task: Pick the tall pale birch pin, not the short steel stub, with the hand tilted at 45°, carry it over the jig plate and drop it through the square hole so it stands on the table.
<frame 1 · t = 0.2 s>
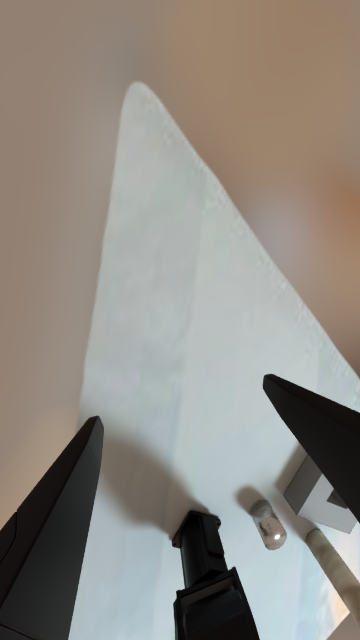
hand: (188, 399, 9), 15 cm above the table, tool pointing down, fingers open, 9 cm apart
birch pin: (314, 537, 34), on the table
steel stub: (260, 509, 31), on the table
jig plate: (327, 474, 33), on the table
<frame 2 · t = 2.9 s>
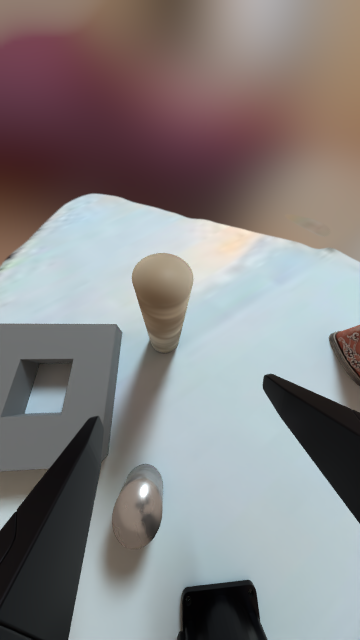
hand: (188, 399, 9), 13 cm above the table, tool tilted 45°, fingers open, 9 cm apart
birch pin: (164, 339, 24), on the table
steel stub: (143, 488, 17), on the table
jig plate: (56, 386, 20), on the table
lighter: (347, 358, 25), on the table
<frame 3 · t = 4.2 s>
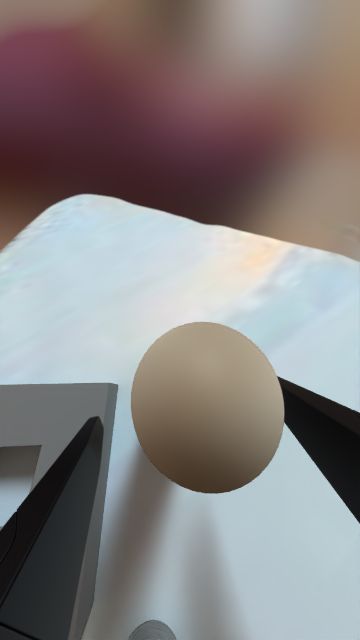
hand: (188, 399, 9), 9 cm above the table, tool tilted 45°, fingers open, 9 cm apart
birch pin: (177, 393, 17), on the table
jig plate: (19, 478, 14), on the table
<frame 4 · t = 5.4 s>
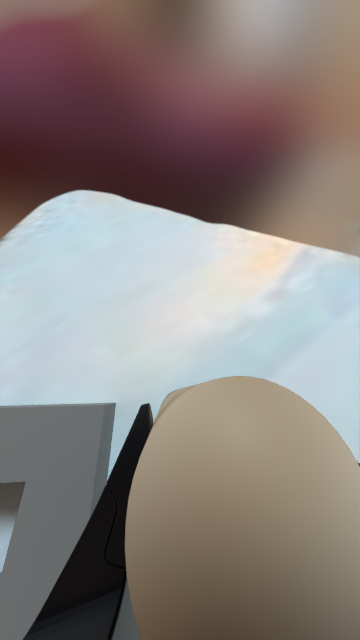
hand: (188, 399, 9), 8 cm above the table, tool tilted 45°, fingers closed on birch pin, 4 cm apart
birch pin: (181, 412, 15), on the table, touching gripper
jig plate: (2, 514, 12), on the table
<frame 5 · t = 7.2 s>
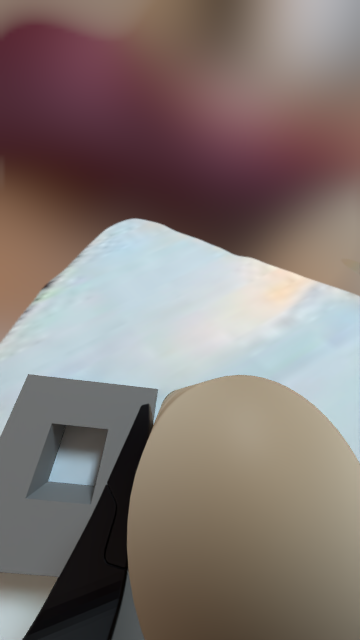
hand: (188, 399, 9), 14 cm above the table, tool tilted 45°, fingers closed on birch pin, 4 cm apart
birch pin: (182, 412, 15), point 6 cm above the table, touching gripper
jig plate: (84, 451, 18), on the table
when the fingers open (10 cm above the table, at t = 9.2 s): birch pin drops 2 cm, resting in jig plate.
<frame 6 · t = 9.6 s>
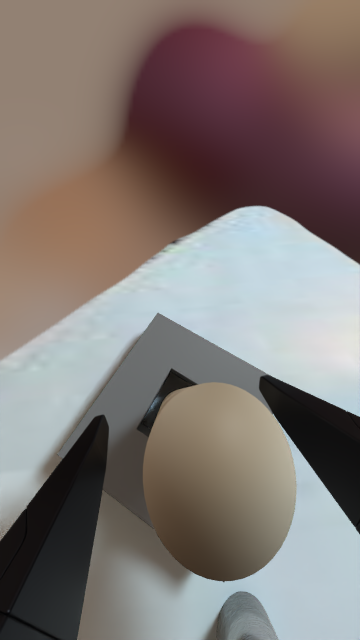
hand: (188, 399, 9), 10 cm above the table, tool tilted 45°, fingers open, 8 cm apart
birch pin: (180, 410, 17), resting in jig plate
steel stub: (244, 634, 12), on the table
jig plate: (180, 410, 17), on the table
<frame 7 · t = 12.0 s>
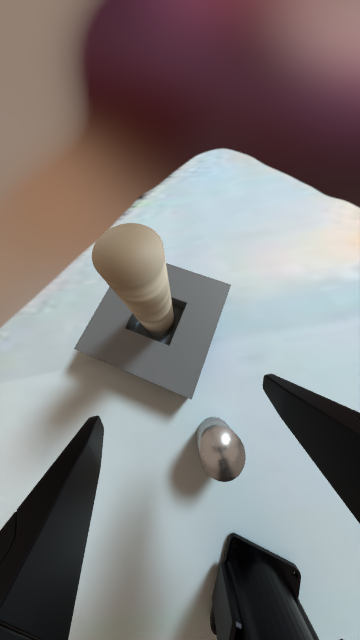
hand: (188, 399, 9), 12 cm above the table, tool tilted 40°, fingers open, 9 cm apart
birch pin: (159, 322, 23), resting in jig plate
steel stub: (214, 437, 19), on the table
jig plate: (159, 322, 23), on the table
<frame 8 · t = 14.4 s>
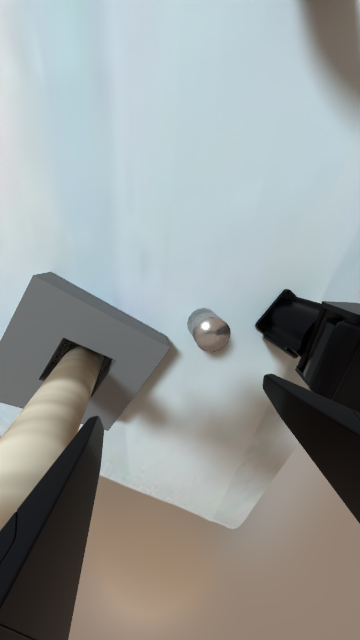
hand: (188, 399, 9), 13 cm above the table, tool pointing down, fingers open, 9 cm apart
birch pin: (87, 354, 21), resting in jig plate
steel stub: (202, 322, 22), on the table
jig plate: (87, 354, 21), on the table
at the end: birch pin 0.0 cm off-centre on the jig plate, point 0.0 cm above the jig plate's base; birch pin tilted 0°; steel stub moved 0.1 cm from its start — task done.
